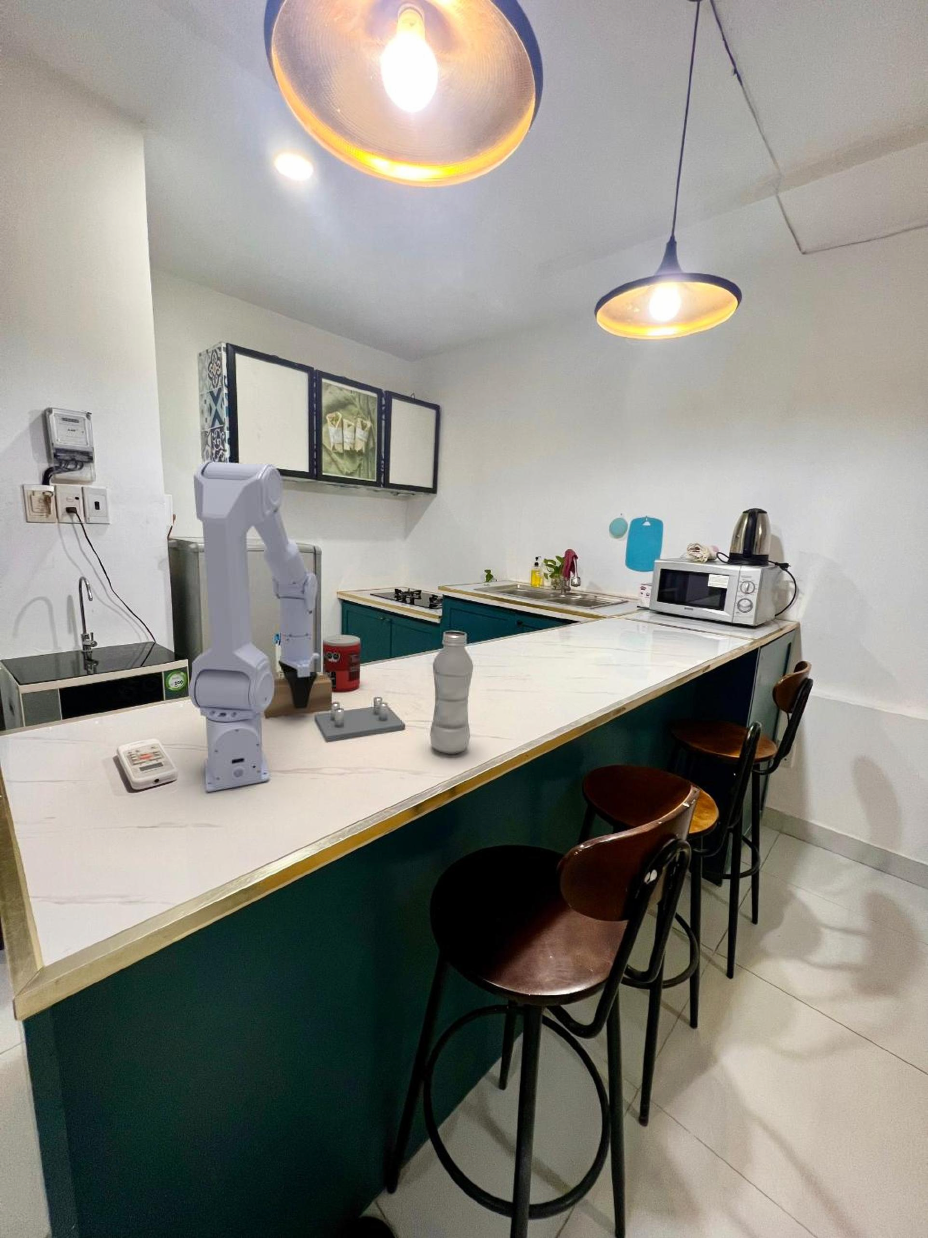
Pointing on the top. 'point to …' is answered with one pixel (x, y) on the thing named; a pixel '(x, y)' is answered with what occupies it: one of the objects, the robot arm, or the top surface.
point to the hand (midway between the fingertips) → (297, 701)
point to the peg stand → (358, 721)
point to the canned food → (342, 662)
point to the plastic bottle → (451, 695)
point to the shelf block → (284, 702)
